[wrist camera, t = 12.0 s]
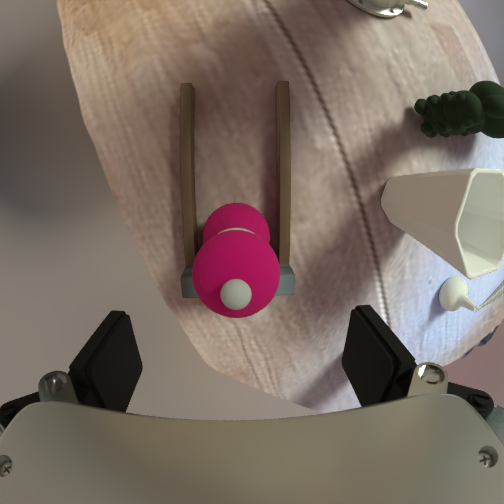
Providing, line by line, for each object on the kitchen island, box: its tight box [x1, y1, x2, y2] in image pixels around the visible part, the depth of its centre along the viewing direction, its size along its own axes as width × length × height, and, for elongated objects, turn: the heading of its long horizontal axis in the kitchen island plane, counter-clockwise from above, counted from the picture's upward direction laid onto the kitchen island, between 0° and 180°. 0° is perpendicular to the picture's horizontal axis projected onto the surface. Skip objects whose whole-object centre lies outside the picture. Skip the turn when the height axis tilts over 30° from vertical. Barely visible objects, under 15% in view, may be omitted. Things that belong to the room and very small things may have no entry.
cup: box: [381, 168, 504, 280], centre depth 26 cm, size 11×10×17 cm
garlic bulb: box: [439, 276, 478, 311], centre depth 35 cm, size 6×6×8 cm
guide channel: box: [180, 81, 295, 298], centre depth 29 cm, size 12×24×6 cm, turn 1°
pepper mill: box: [192, 203, 280, 318], centre depth 24 cm, size 7×7×20 cm
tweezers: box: [477, 281, 504, 311], centre depth 41 cm, size 17×5×2 cm, turn 116°
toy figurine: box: [414, 81, 504, 138], centre depth 22 cm, size 9×19×25 cm
